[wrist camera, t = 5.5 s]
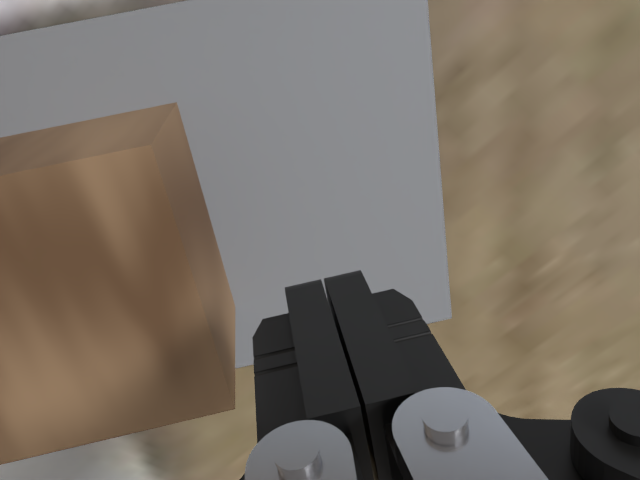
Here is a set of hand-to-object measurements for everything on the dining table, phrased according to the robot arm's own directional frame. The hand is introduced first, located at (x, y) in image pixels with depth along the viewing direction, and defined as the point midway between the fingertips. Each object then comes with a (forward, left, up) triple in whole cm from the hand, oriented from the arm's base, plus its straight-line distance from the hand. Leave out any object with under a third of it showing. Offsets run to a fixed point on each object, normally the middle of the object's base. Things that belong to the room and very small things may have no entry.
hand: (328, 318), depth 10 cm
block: (0, -3, -4) cm, 5 cm away
